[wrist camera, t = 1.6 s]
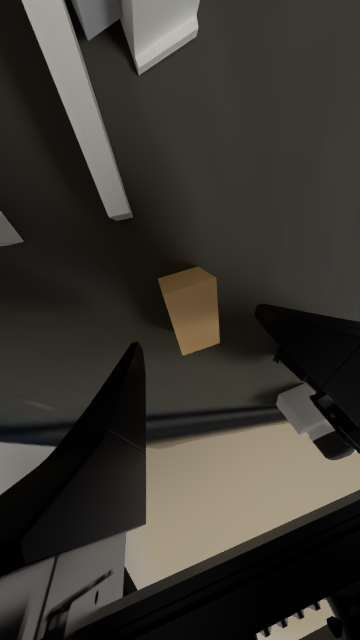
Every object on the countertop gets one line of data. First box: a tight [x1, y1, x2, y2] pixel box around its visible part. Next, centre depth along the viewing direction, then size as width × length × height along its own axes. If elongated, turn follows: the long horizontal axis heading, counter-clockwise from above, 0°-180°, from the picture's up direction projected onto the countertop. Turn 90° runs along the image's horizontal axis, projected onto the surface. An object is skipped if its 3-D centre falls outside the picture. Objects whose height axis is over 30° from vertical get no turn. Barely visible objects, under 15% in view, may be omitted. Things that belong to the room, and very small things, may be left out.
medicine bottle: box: [276, 384, 356, 460], centre depth 30 cm, size 7×7×12 cm
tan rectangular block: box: [158, 267, 220, 355], centre depth 11 cm, size 4×6×4 cm, turn 13°
